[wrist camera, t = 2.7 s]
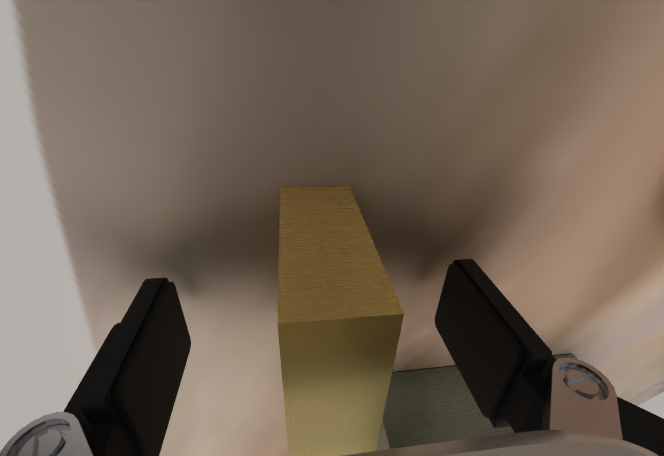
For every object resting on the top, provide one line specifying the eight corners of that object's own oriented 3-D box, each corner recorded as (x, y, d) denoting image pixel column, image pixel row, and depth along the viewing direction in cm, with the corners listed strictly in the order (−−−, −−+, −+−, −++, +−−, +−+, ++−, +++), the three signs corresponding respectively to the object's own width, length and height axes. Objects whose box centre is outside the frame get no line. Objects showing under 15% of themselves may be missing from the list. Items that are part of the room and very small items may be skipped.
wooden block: (280, 187, 11) (277, 324, 6) (349, 185, 11) (403, 313, 6) (287, 313, 14) (290, 472, 9) (341, 308, 14) (373, 460, 9)
